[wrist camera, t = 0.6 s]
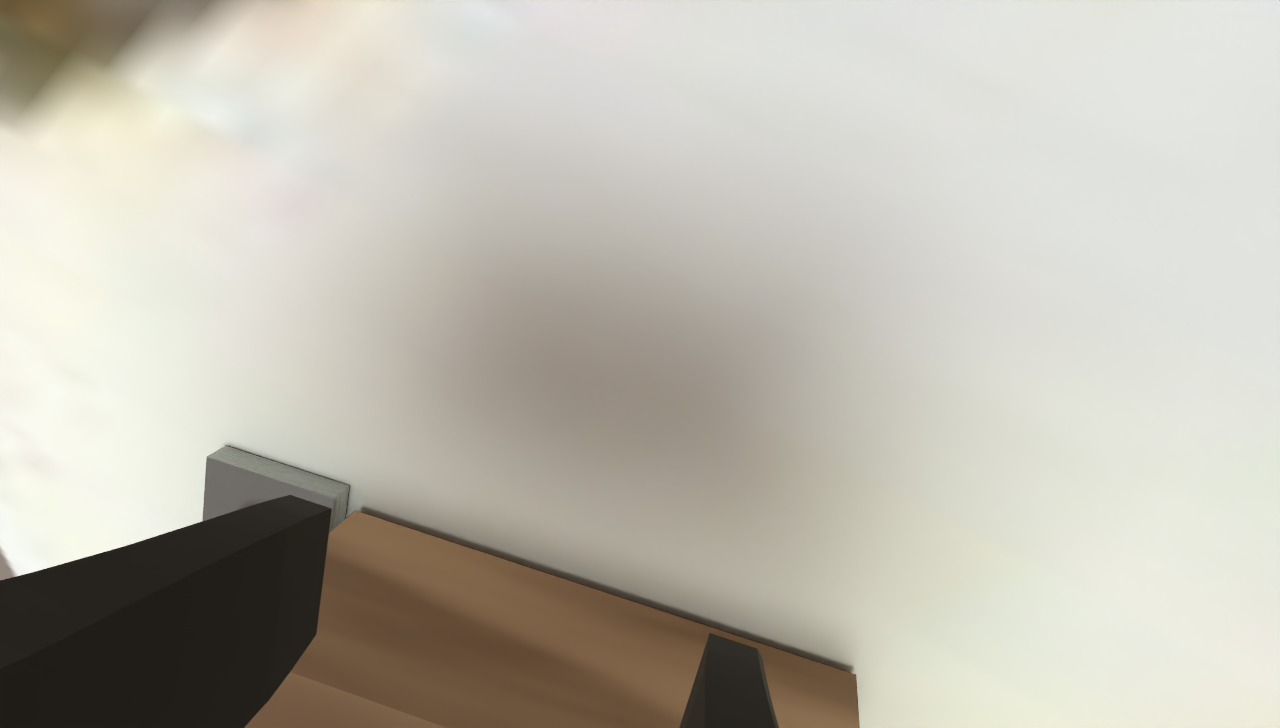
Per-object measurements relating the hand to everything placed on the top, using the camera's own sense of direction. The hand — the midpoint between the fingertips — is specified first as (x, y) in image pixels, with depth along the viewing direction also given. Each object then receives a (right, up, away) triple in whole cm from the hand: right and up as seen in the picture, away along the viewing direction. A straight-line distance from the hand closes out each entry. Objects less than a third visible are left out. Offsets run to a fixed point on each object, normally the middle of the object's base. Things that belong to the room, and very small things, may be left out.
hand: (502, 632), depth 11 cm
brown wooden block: (-1, -3, +12) cm, 13 cm away
